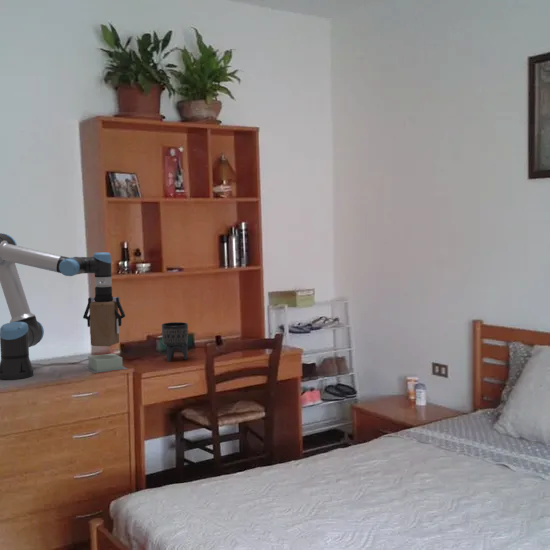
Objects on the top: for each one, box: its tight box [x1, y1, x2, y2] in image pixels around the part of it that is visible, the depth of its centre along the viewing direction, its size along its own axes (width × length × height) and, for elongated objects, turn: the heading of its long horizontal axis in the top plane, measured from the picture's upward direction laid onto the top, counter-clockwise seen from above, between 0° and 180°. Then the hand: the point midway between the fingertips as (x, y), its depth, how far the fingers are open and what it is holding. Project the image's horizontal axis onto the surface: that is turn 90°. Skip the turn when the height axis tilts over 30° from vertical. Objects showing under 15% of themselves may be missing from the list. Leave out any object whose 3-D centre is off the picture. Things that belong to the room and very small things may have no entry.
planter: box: [161, 321, 189, 363], centre depth 333 cm, size 13×13×18 cm
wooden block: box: [89, 300, 120, 347], centre depth 309 cm, size 10×10×20 cm
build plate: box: [83, 365, 129, 374], centre depth 311 cm, size 16×16×1 cm
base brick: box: [88, 353, 124, 372], centre depth 310 cm, size 12×12×5 cm
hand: (104, 333), depth 309 cm, fingers closed on wooden block, 11 cm apart
